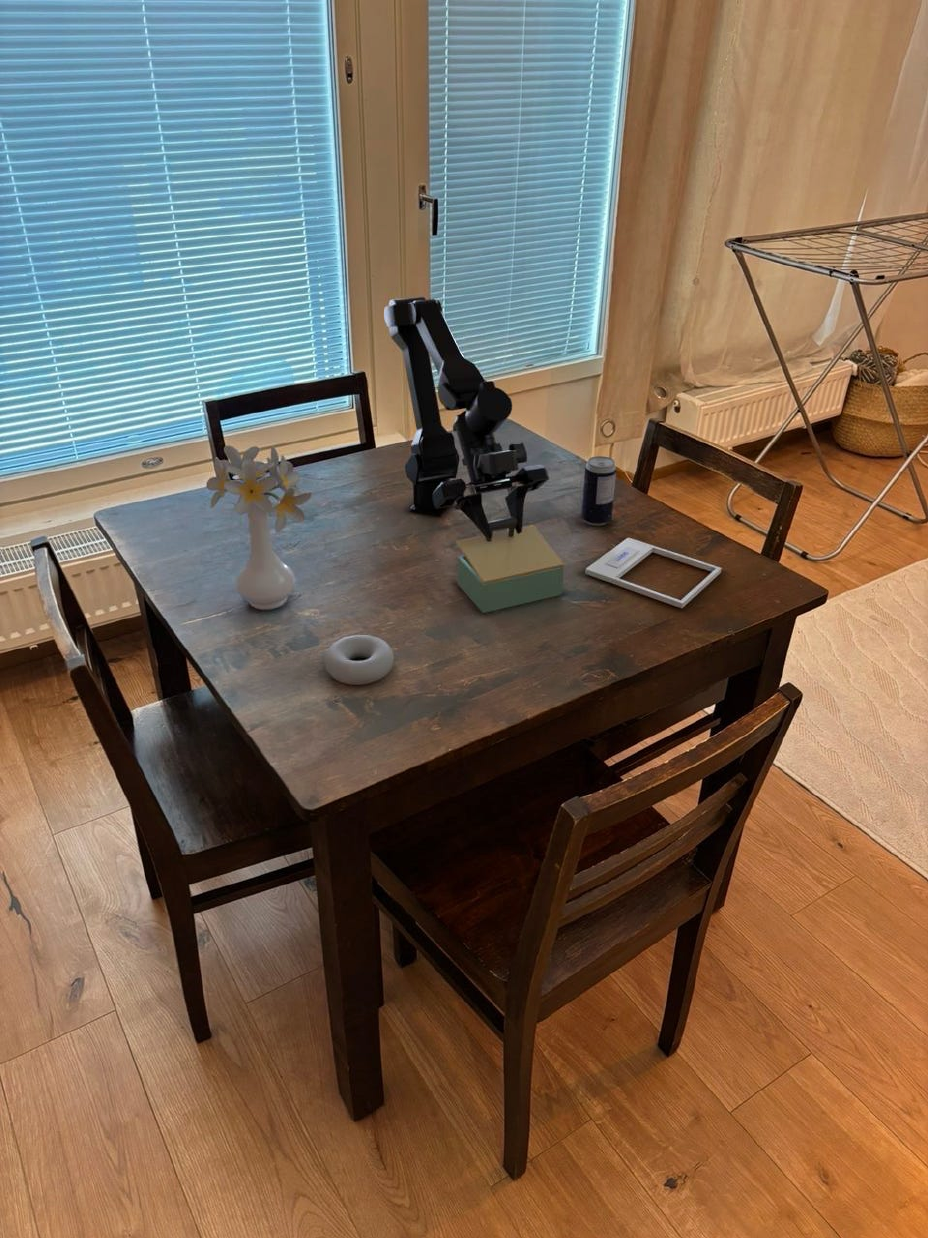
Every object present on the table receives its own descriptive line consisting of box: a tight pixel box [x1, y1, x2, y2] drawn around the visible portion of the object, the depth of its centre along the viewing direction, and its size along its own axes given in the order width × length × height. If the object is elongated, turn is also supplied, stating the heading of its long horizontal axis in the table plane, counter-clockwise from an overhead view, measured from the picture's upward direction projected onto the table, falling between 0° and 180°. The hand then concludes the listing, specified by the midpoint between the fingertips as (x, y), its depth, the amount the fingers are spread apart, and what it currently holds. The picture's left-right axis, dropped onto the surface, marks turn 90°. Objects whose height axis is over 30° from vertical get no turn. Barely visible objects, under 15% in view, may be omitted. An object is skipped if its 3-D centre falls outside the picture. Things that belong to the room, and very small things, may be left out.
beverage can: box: [580, 455, 617, 527], centre depth 170 cm, size 6×6×12 cm
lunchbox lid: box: [455, 516, 565, 584], centre depth 147 cm, size 11×14×4 cm
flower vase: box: [205, 445, 312, 611], centre depth 141 cm, size 13×18×25 cm
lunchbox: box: [456, 554, 564, 614], centre depth 150 cm, size 10×14×5 cm
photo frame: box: [584, 537, 723, 609], centre depth 156 cm, size 15×1×18 cm
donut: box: [323, 634, 395, 686], centre depth 132 cm, size 10×4×10 cm
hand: (504, 536), depth 148 cm, fingers closed on lunchbox lid, 5 cm apart
